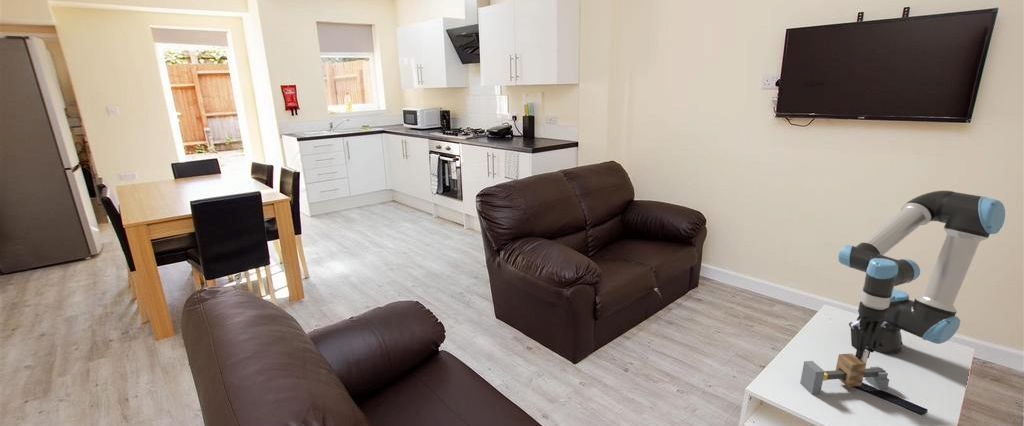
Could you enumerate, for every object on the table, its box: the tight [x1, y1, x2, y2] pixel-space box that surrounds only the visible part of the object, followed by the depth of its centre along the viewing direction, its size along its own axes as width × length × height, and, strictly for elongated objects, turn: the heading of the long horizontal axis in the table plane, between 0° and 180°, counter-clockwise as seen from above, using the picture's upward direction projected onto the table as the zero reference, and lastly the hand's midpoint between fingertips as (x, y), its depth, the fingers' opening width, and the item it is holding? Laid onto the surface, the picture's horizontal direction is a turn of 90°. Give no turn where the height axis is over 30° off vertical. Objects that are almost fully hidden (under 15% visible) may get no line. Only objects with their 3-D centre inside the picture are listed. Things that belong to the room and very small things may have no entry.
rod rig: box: [799, 360, 890, 395], centre depth 159 cm, size 27×6×9 cm, turn 93°
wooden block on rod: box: [835, 353, 867, 387], centre depth 158 cm, size 5×6×9 cm
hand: (859, 365), depth 158 cm, fingers closed
